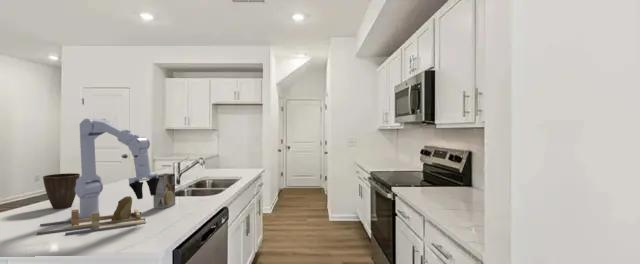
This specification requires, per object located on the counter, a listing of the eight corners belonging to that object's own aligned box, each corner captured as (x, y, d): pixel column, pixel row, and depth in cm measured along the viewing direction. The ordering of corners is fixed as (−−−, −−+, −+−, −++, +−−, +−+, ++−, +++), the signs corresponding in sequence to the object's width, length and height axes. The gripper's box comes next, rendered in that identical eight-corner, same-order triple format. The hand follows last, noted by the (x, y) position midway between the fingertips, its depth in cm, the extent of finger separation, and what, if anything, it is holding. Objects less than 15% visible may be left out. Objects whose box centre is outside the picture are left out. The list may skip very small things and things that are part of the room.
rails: (40, 225, 146) (40, 224, 146) (140, 213, 167) (140, 211, 167) (34, 239, 130) (34, 237, 130) (147, 223, 150) (147, 222, 150)
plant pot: (38, 208, 176) (37, 175, 176) (72, 202, 189) (72, 172, 188) (50, 212, 168) (49, 178, 167) (85, 206, 180) (85, 174, 180)
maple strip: (91, 227, 144) (91, 211, 144) (144, 220, 155) (144, 205, 155) (92, 230, 141) (91, 214, 140) (145, 223, 151) (145, 207, 151)
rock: (116, 218, 148) (139, 210, 156) (107, 201, 150) (130, 194, 158) (108, 230, 154) (130, 222, 162) (99, 214, 156) (122, 206, 164)
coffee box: (164, 203, 187) (164, 173, 187) (175, 204, 186) (175, 173, 185) (152, 207, 178) (152, 175, 178) (164, 208, 177) (164, 176, 176)
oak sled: (71, 222, 151) (71, 208, 151) (137, 214, 165) (137, 201, 165) (70, 229, 142) (70, 214, 141) (140, 220, 155) (140, 206, 155)
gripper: (136, 166, 145) (141, 199, 145) (161, 162, 159) (166, 192, 159) (122, 168, 147) (127, 201, 147) (149, 164, 161) (153, 194, 161)
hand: (146, 197), depth 153 cm, fingers open, 7 cm apart
